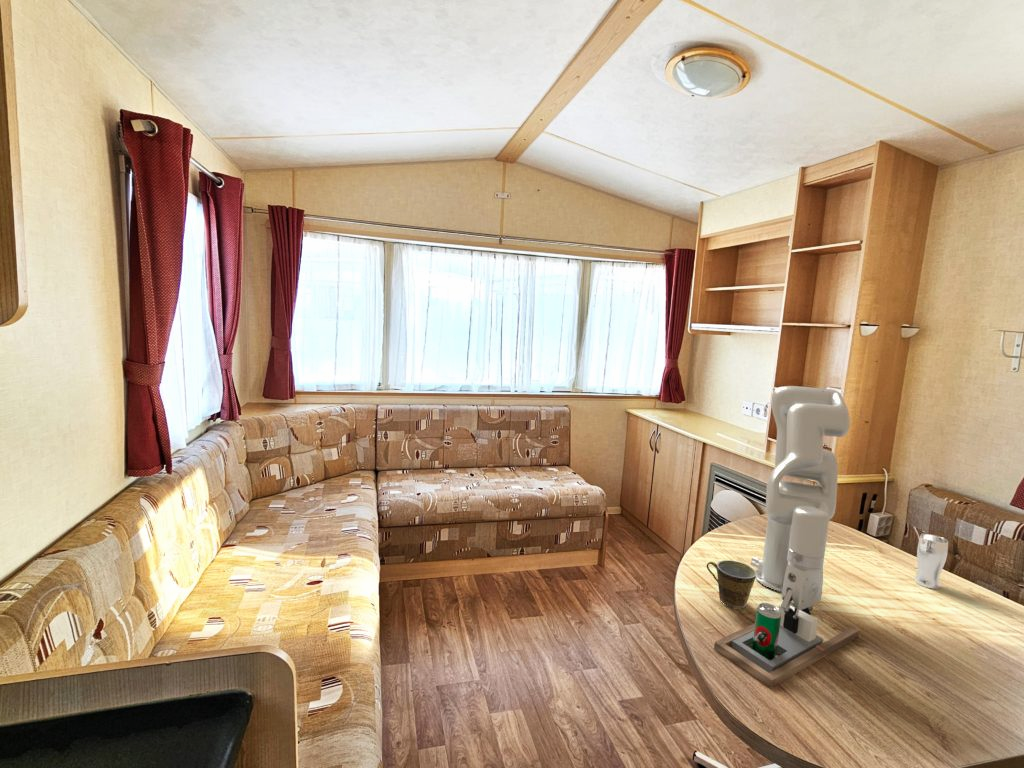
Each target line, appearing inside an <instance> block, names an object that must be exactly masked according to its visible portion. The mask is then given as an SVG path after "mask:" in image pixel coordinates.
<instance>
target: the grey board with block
mask: <svg viewBox="0 0 1024 768" xmlns="http://www.w3.org/2000/svg"><path fill="white" fill-rule="evenodd" d="M777 608H778V609H779V610H780V614H781V621H780V629H779V637H778V645H777V653H776V654H778V656H776V658H774V659H772V660H771V661H770V660H768V659H767V658H765V657H764V656H762V655H760V654H759V653H757V652H756V651H754V650H753V649H752V647H751V646H752V645H753V636H754V631H752V632H750V633H748V634H746V635H743V636H741V637H739V638H737V639H735V640H733V641H732V647H731V648H732V649H734V650H735V651H737V652H738V653H740V654H741V655H743V656H744V657H746V658H747V659H749V660H750V661H752V662H753V663H755V664H756V665H758V666H759V667H761V668H762V669H764V670H765V671H767V672H768V673H770V672H772V671H774V670H776V669H778V668H779V667H781V666H783V665H785V664H786V663H788V662H790V661H792V660H794V659H795V658H797V657H799V656H801V655H802V654H804V653H806V652H808V651H810V650H811V649H813V648H815V646H817V645H820V644H822V643H824V638H823V637H820V636H819V635H817V632H818V624H819V623H818V622H819V619H818V618H816V617H814V616H812V614H811V615H809V614H807V613H805V612H803V611H801V610H799V613H798V617H797V618H799V623H798V631H797V633H796V634H794V633H792V632H791V631H789V630H787V629H785V628H784V627H783V623H784V615H785V613H784V610H783V609H782V608H781V604H779V605H778V607H777ZM790 608H791V609H793V611H794V610H795V607H793V606H791V605H790Z"/></svg>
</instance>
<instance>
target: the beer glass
mask: <svg viewBox="0 0 1024 768" xmlns="http://www.w3.org/2000/svg"><path fill="white" fill-rule="evenodd" d="M948 550H949V541H948V539H946V538H944V537H941V536H939V535H936V534H930V533H921V534H920V536H919V540H918V545H917V551H916V555H917V556H916V557H917V559H916V561H917V572H916V574H915V576H914V579H913V580H914V581H913V582H915V583H916V584H918V585H919V586H921V585H922V587H923V586H924V588H926V587H927V588H926V589H930V588H931V589H932V590H939V589H940V588H941V587H940V585H941V584H940V576H941V573H942V570H943V568H944V566H945V564H946V561H947V557H948V552H949V551H948Z"/></svg>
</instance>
